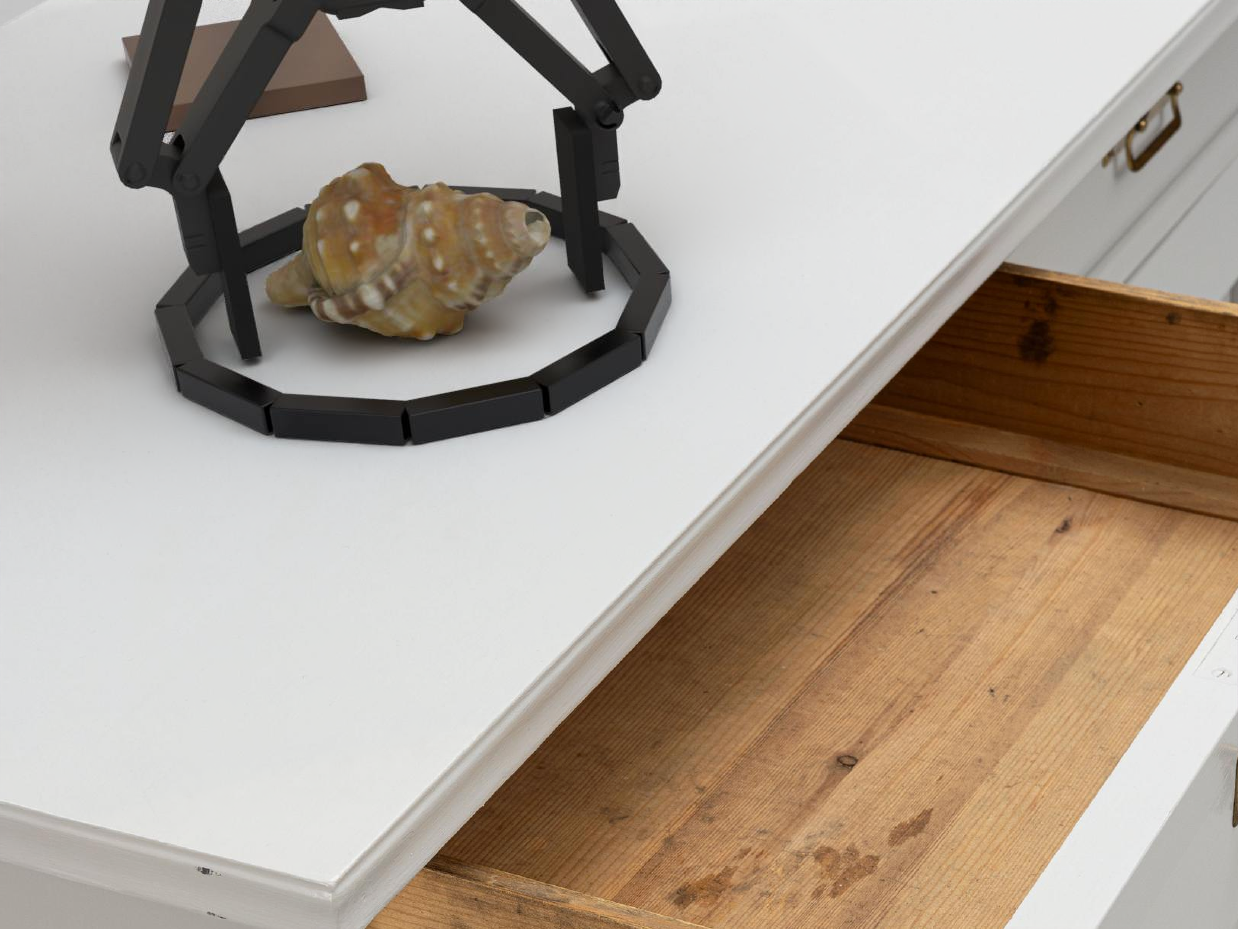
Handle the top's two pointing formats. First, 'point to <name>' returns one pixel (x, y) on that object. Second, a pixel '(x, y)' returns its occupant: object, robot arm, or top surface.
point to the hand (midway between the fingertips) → (419, 310)
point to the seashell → (405, 254)
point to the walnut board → (300, 82)
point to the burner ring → (428, 413)
